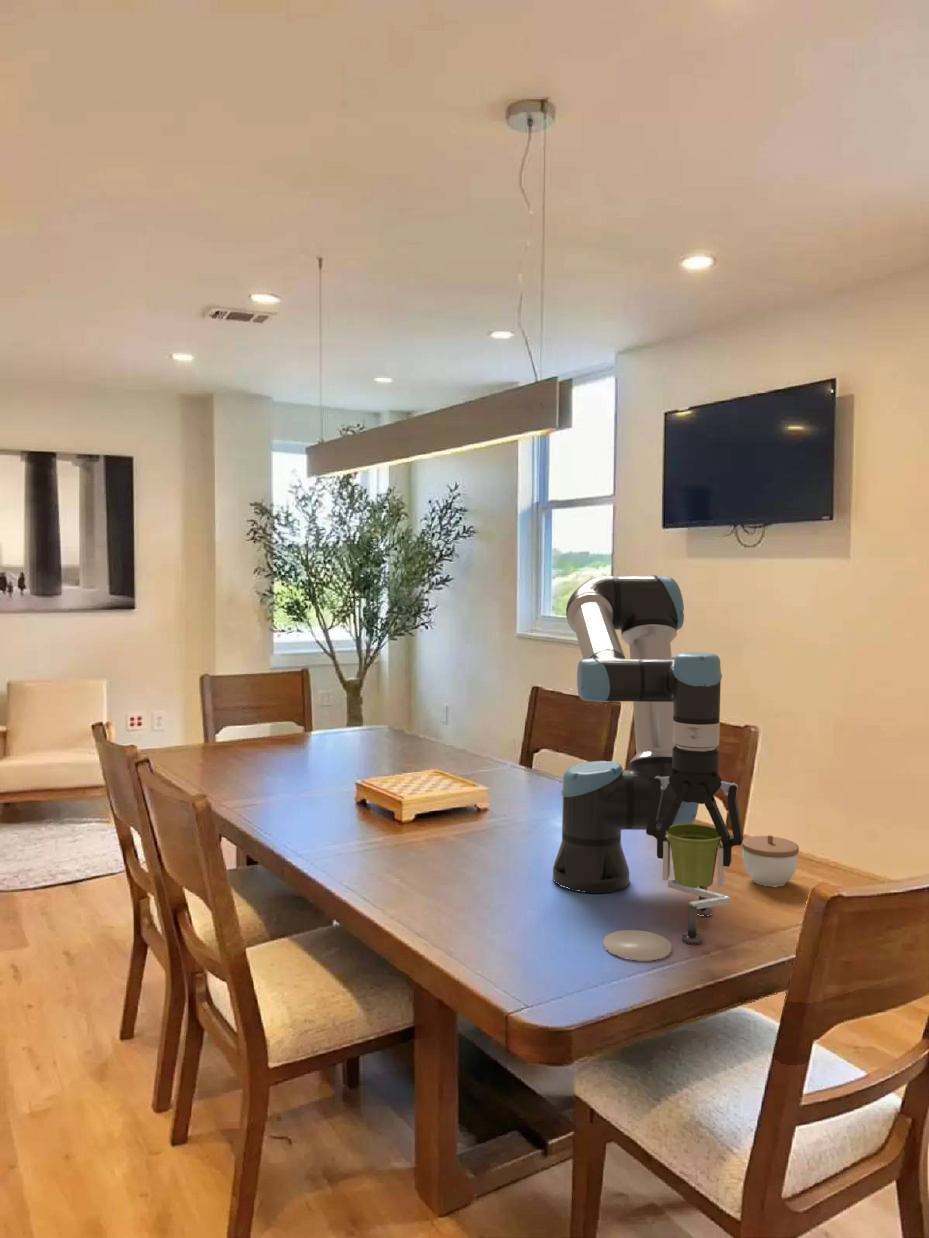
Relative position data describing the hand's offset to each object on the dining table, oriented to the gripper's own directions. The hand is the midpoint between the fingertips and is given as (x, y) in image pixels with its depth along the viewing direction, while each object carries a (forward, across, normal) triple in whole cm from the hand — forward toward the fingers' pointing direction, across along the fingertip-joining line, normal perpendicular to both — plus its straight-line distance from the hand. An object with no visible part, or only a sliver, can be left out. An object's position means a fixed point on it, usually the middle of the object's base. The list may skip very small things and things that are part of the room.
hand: (693, 880), depth 152 cm
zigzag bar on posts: (+10, 0, +6) cm, 12 cm away
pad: (+10, -8, -6) cm, 14 cm away
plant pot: (0, 0, 0) cm, 0 cm away
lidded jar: (+11, +10, +35) cm, 38 cm away
